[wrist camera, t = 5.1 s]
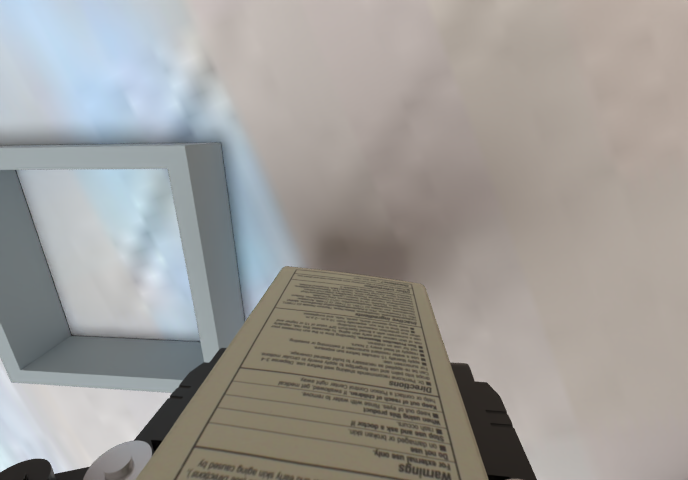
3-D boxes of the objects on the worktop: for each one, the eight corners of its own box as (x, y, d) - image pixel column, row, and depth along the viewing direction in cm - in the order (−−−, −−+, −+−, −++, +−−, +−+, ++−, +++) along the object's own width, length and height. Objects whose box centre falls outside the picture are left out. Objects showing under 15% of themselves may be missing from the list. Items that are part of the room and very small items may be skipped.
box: (220, 142, 18) (184, 145, 14) (249, 356, 22) (227, 396, 19) (-9, 145, 19) (-90, 149, 16) (62, 346, 23) (11, 382, 20)
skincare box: (279, 346, 15) (-52, 1010, 4) (283, 261, 14) (-225, 900, 2) (416, 369, 15) (532, 1221, 3) (434, 283, 13) (765, 1249, 2)
